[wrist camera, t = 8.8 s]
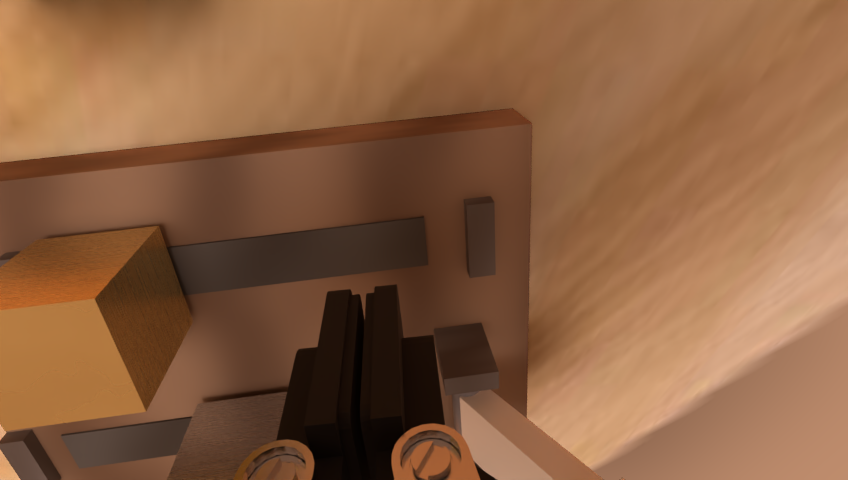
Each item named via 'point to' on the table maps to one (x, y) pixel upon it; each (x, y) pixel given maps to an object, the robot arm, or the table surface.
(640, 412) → the table surface
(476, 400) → the pale pink t-block
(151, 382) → the brass knob
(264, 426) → the grey knob
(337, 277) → the console
